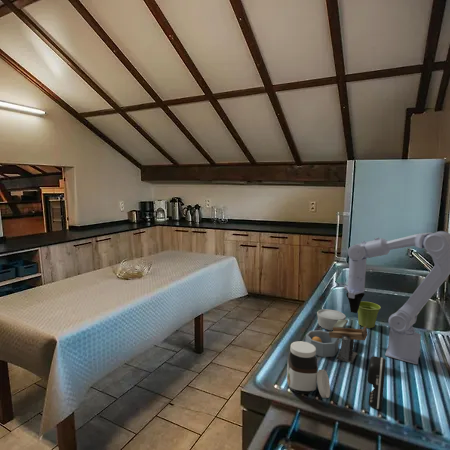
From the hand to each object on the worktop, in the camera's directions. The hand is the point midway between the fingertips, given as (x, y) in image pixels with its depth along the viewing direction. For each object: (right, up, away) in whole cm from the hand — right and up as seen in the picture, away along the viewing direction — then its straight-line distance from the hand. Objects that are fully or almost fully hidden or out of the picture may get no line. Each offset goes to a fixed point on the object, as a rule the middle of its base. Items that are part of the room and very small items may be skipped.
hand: (354, 312), depth 120 cm
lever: (-4, -4, -8) cm, 10 cm away
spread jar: (-25, -13, -30) cm, 42 cm away
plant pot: (+11, -10, +14) cm, 20 cm away
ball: (-16, -9, -7) cm, 19 cm away
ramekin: (-5, -9, +12) cm, 16 cm away
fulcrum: (-7, -12, -12) cm, 18 cm away
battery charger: (-9, -14, -35) cm, 39 cm away
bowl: (-14, -11, -7) cm, 20 cm away
